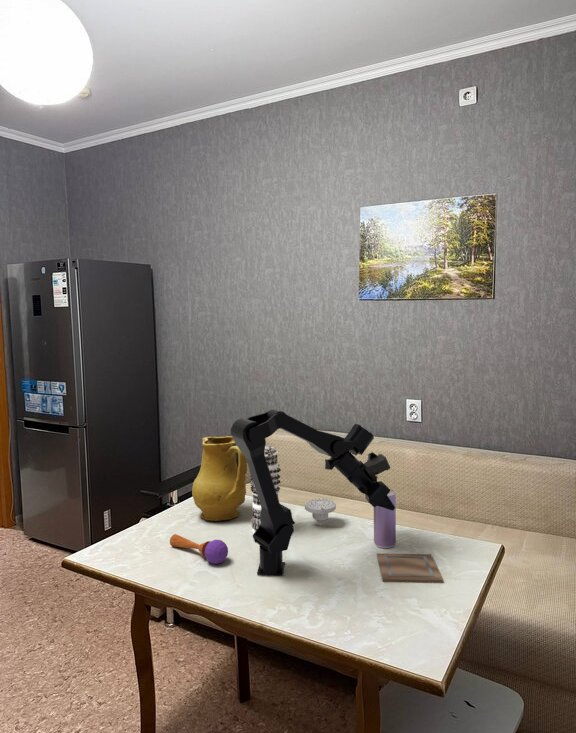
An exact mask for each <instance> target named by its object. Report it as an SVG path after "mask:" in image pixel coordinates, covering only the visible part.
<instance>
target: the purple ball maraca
mask: <svg viewBox="0 0 576 733" xmlns="http://www.w3.org/2000/svg"><path fill="white" fill-rule="evenodd" d="M169 545H170V546H171V547H173V546H174V547H176V548H186V549H192V550H193V549H195V550H198V551H199V552H200V554H201V556H203V558H205V559H206V560H207V561H208V562H209V563H210V564H214V565H219V564H221V563H223V562H224V561H226V559H227V558H228V555H229V547H228V546H227V545H228V544H227V543H225V542H224V541H223V540H222V539H221V540H220V539H213V540H208V541H205V542H203V543H201V544H199V543H196V542H195V541H192V540H190V539H187V538H186V537H184V536H181V535H178V534H176V533H175V534H173V535H172V536H171V537H170V539H169ZM174 547H173V548H174Z"/></svg>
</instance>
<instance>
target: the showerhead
mask: <svg viewBox="0 0 576 733" xmlns="http://www.w3.org/2000/svg"><path fill="white" fill-rule="evenodd" d="M336 508H337V503H336V502H335V501H334V500H331V499H328V498H320V497H318V498H314V499H313V498H312V499H309V500H307V501H306V502H305V503H304V510H305V511H306V512H308V513H312V519H313V520H315V521H316V525H318V526H323V525H325V521H326V520H328V519H329V513H330V514H331V513H333V512H334V511H336Z"/></svg>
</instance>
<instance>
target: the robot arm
mask: <svg viewBox="0 0 576 733" xmlns="http://www.w3.org/2000/svg"><path fill="white" fill-rule="evenodd" d="M279 429H281V430H282V431H283V432H287V433H288V434H290V435H292V436H294V437H297V438H299V439H301V440H303V441H305V442H306V443H307V444H309V446H310V447H312V448H313V449H314V450H315V451H316V452H317V453H319V454H322V455H325V456H328V457H330V458H326V459H324V461H325V462H324V463H325V465H324V469H325V470H329V471H332V470H334V468H335V470H337V471H338V472H339V473H340V474H342V476H343V477H345V478H346V479H347V480H348V482H349V483H350V484H352V486H354V487H355V489H357V490H358V491H359V492H360V493H361V494H363V495H365V497H364V498H365V500H366V501H367V502H368V503H369V504H370V505H371V506H372V507H373V508H374V507H376V506H380V507H383V508H386V509H389V510H392V511H393V510H394V509H395V506H394V505H393V503H392V502H391V500H390V499H389V497H388V496H387V494H388V493H389V492H390V489H391V488H389V487H388V486H387V485H386V484H385V483H384V482H383V481H380V480H379V481H378V478H379V477H378V475H380V474H382V473H384V472H386V471H388V470H390V469H391V466H390V464H389V461H388V459H387V457H386V456H385V455H384V454H382V453H381V454H380V453H378V455H377V454H376V453H375V452H373V451H371V452H370V453H368V455H367V459H366V461H365V462H364V463H363V462H362V460H359V459H358V458H356V456H357V455H360V456H362V455H363V454H364V453H365V451H366V450H367V449H368V447H369V446H370V445H371V443H372V442H373V440H374V438H375V437H374V435H373V433H372V432H370V431H369V430H368V429H366V428H364V427H362V425H361V424H358V423H354V424H353V426H352V427H351V430H349V431H348V433H347V434H346V436H345V437H341V436H340V435H337V434H334V433H333V434H332V433H330V432H326V431H322V430H318V429H316V428H314V427H312V426H310V425H308V424H306V423H304V422H302V421H300V420H298V419H296V418H294V417H292V416H290V415H288V414H286V412H284V411H282V410H278V409H274V408H273V409H270V410H268V411H266V412H263V413H258V414H256V415H251V416H249V417H247V418H242V417H241V418H239V419H236V420H235V421H234V422H233V423H232V425H231V427H230V436H232V438H233V439H234V441H235V443H236V445H237V447H238V448H239V449H240V451H241V452H242V453H243V455H244V456H245V458H246V461H247V468H248V470H249V471H250V472H249V474H250V473H251V474H250V475H251V476H252V479H253V483H254V486H255V489H256V492H257V495H258V498H259V501H260V504H261V513H260V521H261V525H260V526H259V527H258V529H257V530H256V531H255V533H253V534H252V538H253V541H254V543H255V544H258V545H259V565H258V567H257V571H256V575H257V576H268V577H269V576H270V577H271V576H273V577H276V576H278V577H279V576H280V577H282V576H284V574H285V568H286V562H285V561H283V560H284V557H283V552H284V551H287V550H288V548H289V547H290V546H289V545H290V542H291V538H292V536H293V533H294V531H295V526H294V525H295V524H296V522H295V521H294V519H293V515H292V510H291V509H290V508H289V507H287V506H284V505H283V504H281V503H280V500H279V495H278V496H277V493H276V490H275V487H274V483H273V480H272V477H271V474H270V470H269V467H268V464H267V461H266V458H265V454H264V451H265V446H267V441H266V439H268V437H271V436H272V435H273V434H274V433H275V432H277V431H278V430H279Z"/></svg>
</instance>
